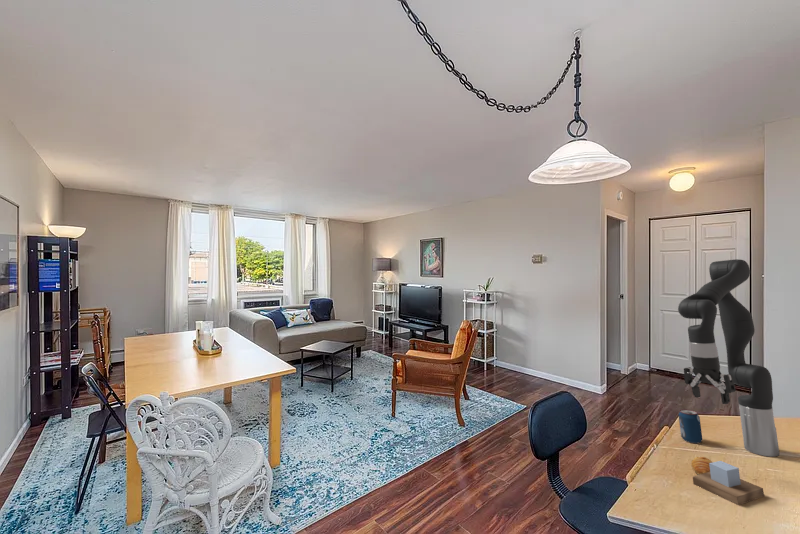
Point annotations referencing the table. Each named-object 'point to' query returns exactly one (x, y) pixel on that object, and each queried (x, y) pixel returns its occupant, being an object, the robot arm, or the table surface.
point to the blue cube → (725, 473)
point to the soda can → (690, 426)
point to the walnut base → (729, 489)
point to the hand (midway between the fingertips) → (711, 400)
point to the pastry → (701, 465)
